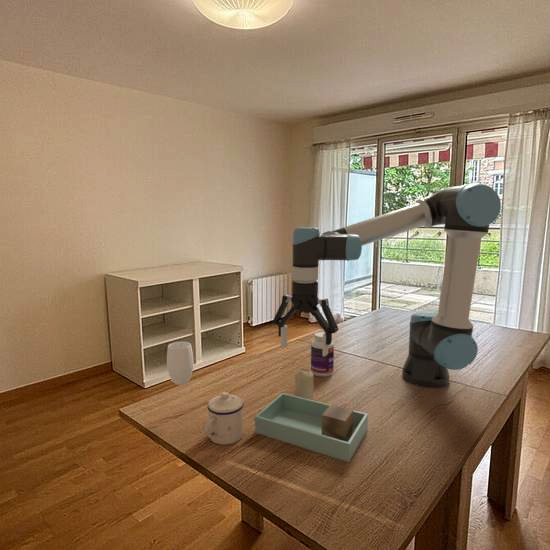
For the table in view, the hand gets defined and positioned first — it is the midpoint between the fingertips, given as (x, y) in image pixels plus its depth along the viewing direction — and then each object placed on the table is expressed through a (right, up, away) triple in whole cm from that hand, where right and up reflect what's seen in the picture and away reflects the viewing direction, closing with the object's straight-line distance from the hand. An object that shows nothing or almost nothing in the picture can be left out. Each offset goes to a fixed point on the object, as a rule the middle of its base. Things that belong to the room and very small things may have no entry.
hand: (304, 350), depth 116 cm
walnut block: (+7, -18, -18) cm, 27 cm away
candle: (0, -16, +3) cm, 16 cm away
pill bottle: (+8, -13, +23) cm, 28 cm away
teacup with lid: (-22, -19, -17) cm, 34 cm away
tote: (+1, -19, -15) cm, 24 cm away
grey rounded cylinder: (-35, -17, -5) cm, 40 cm away
